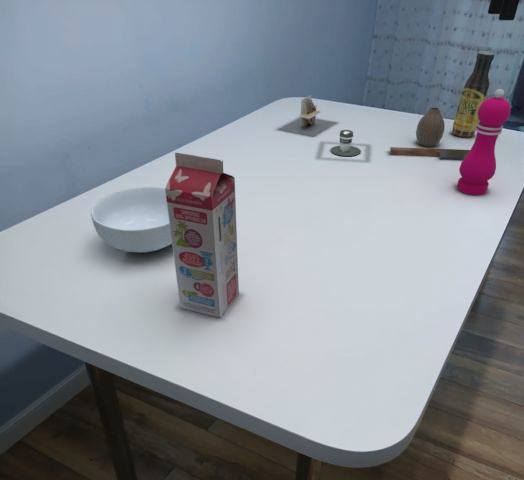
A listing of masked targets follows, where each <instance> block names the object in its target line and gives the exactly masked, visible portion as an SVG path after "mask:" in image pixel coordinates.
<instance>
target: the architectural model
mask: <svg viewBox="0 0 524 480" xmlns="http://www.w3.org/2000/svg"><path fill="white" fill-rule="evenodd" d="M300 100H301V101H300V102H301V103H300V114H299V118H297V119H295V120H293V121H291V122H290V123H287V124H286V125H284V126H281V127H280V128H278V131H283V132H287V133H293V134H298V135H302V136H308V137H316V136H317V135H319V134H320V133H322V132H323V131H325V130H327V129H329V128H331V127H332V126H335V124H337V122H336V121H332V120H331V121H330V120H326V119H320V118H316V116H317V115H319V114H321V111H320V110H317V104H314V101H313V99H312V94H311V95H308V96H306V97H303V98H302V99H300Z"/></svg>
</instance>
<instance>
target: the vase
mask: <svg viewBox="0 0 524 480" xmlns="http://www.w3.org/2000/svg"><path fill="white" fill-rule="evenodd" d="M445 127H446V126H445V120H444V118H443V116H442V113H441V109H440V108H439V107H435V106H434V107H433V106H432V107H430V108H429V109H428V110H427V112H425V114H424V115H423V116H422V117H421V118H420V120H419V121H418V123H417V125H416V130H415V137H416V141H417V142H418V144H419V145H420V146H422V147H430V148H431V147H435V146H436V145H437V144H439V143H440V142H441V140H442V138H443V136H444V133H445Z"/></svg>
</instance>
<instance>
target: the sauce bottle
mask: <svg viewBox="0 0 524 480" xmlns="http://www.w3.org/2000/svg"><path fill="white" fill-rule="evenodd" d="M495 54H496V53H495V52H492V51H488V50H481V51H478V52H477V55H476V60H475V64H474V67H473V70H472V73H471V74H470V75H469V77H468V78H467V80H466V81H465V84H464V86H463V88H462V92H461V95H460V99H459V102H458V106H457V109H456V113H455V117H454V120H453V123H452V129H451V133H452V135H454V136H456V137H460V138H470V137H473V136H474V135H475V132H477V131H476V128H477V123H478V122H480V121H479V119H478V114H477V113H478V109H479V107H480V105H481V104H482V102H484V101H485V100H486V99H487V94H488V92H489V91H488V90H489V88H490V85H491V83H490V78H489V73H490V69H491V66H492V62H493V61H494V59H495Z"/></svg>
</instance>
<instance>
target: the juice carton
mask: <svg viewBox="0 0 524 480" xmlns="http://www.w3.org/2000/svg"><path fill="white" fill-rule="evenodd" d="M174 158H175V167H174V169H173V171H172V173H171V175H170V177H169V178H168V181H167V182H166V185H165V187H164V188H165V192H166V200H167V207H168V215H169V223H170V230H171V238H172V244H171V245H172V253H173V259H174V267H175V275H176V283H177V291H178V299H179V307H180V309H183V310H187V311H191V312H195V313H199V314H203V315H206V316H211V317H215V318H218V319H221V318H222V316H223V315H224V314H225V313H226V311H227V310H228V309H229V308H230V307H231V305H232V304H233V303H234V301H235V300H236V299H237V298H238V296H239V295H240V291H239V290H240V289H239V287H240V286H239V263H238V259H239V258H238V234H237V232H238V231H237V205H236V179H235V178H236V177H234V176H233V175H231V174H228V173H225V172H224V159H220V158H219V159H218V158H212V157H205V156H198V155H194V154H188V153H181V152H174Z"/></svg>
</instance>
